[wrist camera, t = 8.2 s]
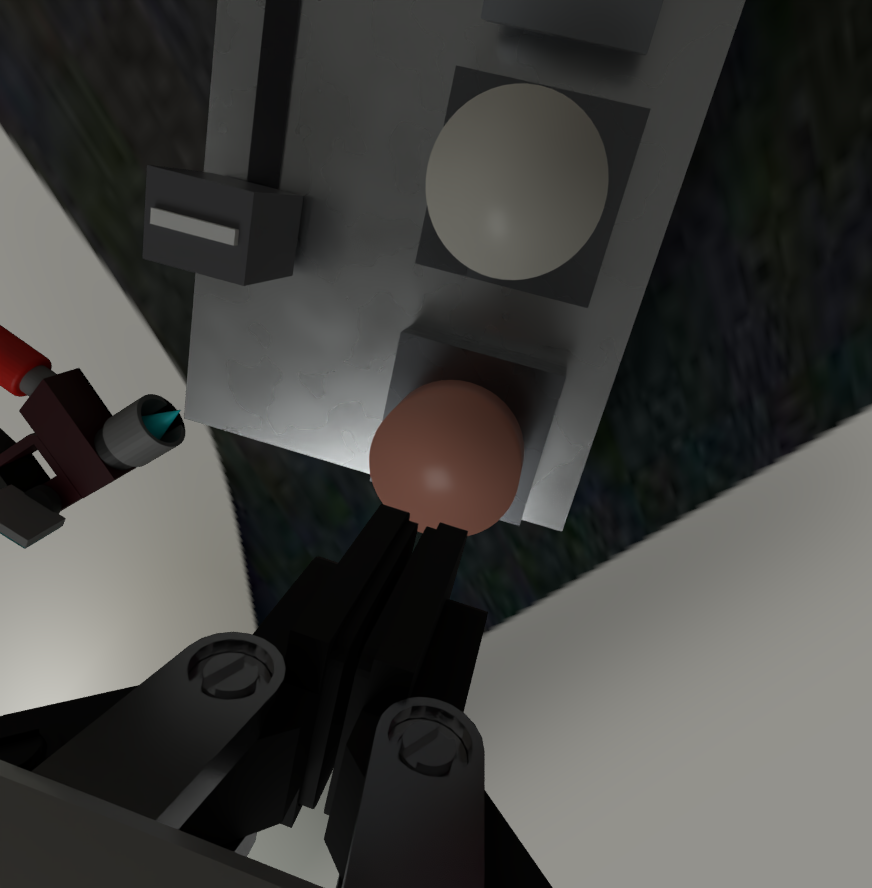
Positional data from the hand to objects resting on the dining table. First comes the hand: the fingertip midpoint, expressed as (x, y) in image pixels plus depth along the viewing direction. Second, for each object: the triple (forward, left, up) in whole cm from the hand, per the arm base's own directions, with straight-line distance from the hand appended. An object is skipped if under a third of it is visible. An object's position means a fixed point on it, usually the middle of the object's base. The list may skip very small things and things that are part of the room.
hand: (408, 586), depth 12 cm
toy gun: (-19, -6, -15) cm, 25 cm away
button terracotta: (0, 0, -9) cm, 9 cm away
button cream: (0, +7, -8) cm, 11 cm away
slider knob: (-8, +4, -9) cm, 13 cm away
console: (-3, +8, -14) cm, 16 cm away
